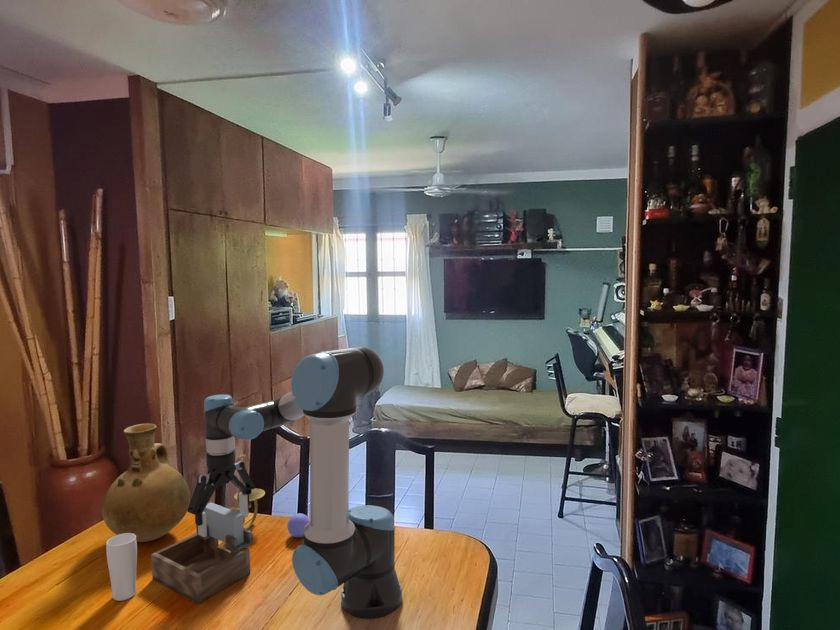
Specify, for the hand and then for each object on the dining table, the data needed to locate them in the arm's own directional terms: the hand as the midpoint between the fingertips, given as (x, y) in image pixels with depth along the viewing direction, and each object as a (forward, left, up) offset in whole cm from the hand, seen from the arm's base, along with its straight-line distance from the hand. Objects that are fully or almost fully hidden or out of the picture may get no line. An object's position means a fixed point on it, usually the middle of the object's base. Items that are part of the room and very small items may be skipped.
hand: (224, 525), depth 151 cm
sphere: (-6, -23, -12) cm, 26 cm away
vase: (+32, +3, -11) cm, 34 cm away
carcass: (0, +6, -11) cm, 13 cm away
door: (+1, 0, -4) cm, 4 cm away
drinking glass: (+9, +23, -11) cm, 28 cm away
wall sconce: (+11, -17, -11) cm, 23 cm away
